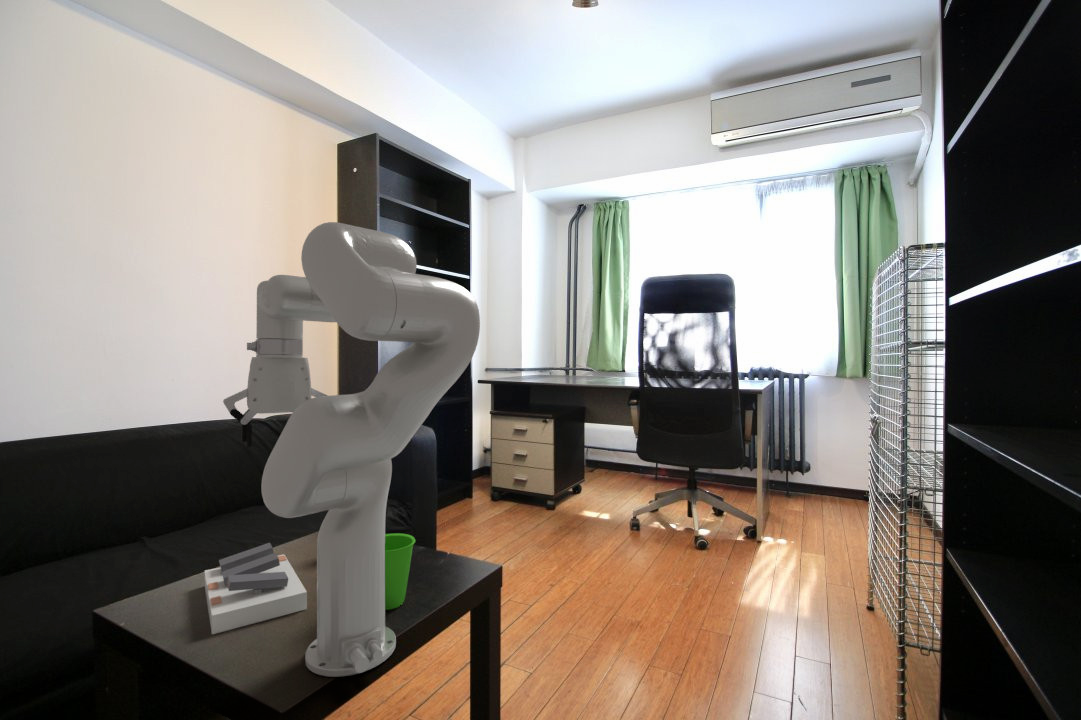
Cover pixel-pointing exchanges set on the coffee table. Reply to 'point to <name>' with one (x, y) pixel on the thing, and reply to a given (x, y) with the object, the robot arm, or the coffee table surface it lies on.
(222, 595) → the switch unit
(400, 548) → the cup
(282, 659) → the coffee table surface
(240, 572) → the rocker middle
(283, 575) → the rocker near
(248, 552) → the block
